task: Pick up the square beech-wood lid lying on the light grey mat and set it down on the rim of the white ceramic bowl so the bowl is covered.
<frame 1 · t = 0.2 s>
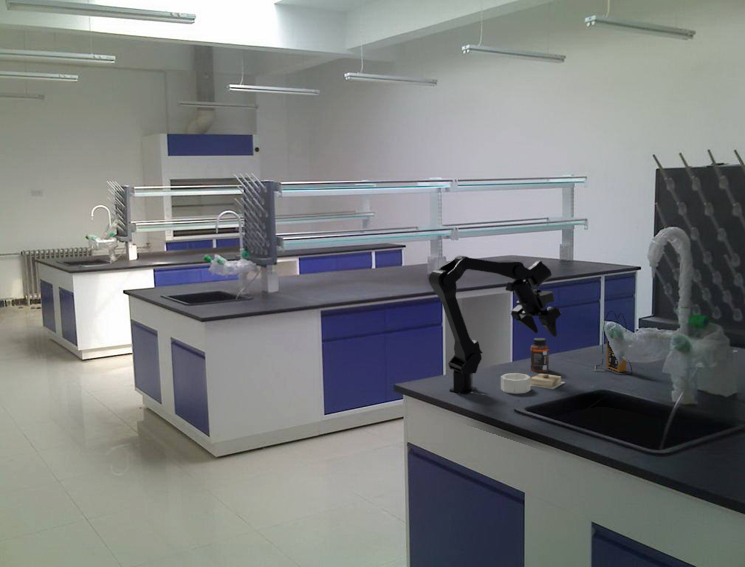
hand: (546, 334, 237), 15 cm above the worktop, tool tilted 30°, fingers open, 9 cm apart
multimeter: (607, 371, 246), on the worktop
supplement bottle: (539, 372, 248), on the worktop
lid: (545, 383, 230), resting on mat
bowl: (515, 390, 225), on the worktop
mat: (545, 385, 231), on the worktop
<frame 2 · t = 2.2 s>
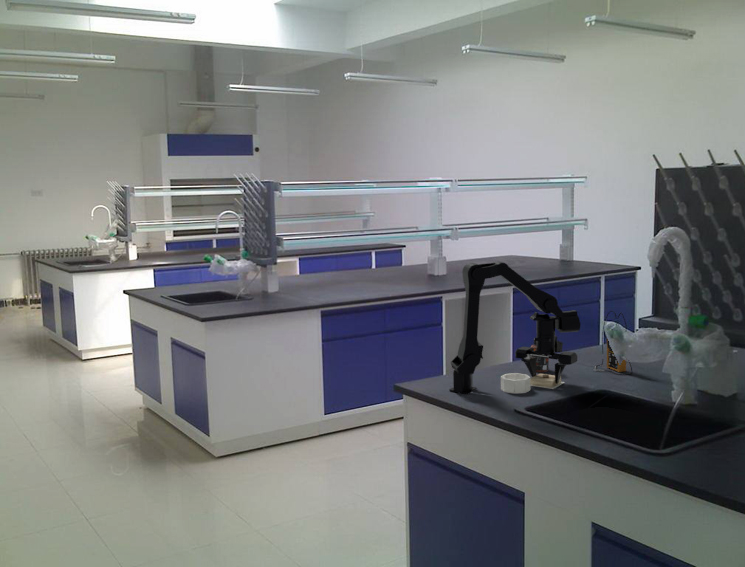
hand: (545, 381, 230), 1 cm above the worktop, tool pointing down, fingers closed on lid, 7 cm apart
lid: (545, 383, 230), resting on mat, touching gripper
everything else where it was.
when the fingers open (6 cm above the worktop, at t = 5.8 s): lid stays where it is, resting on bowl.
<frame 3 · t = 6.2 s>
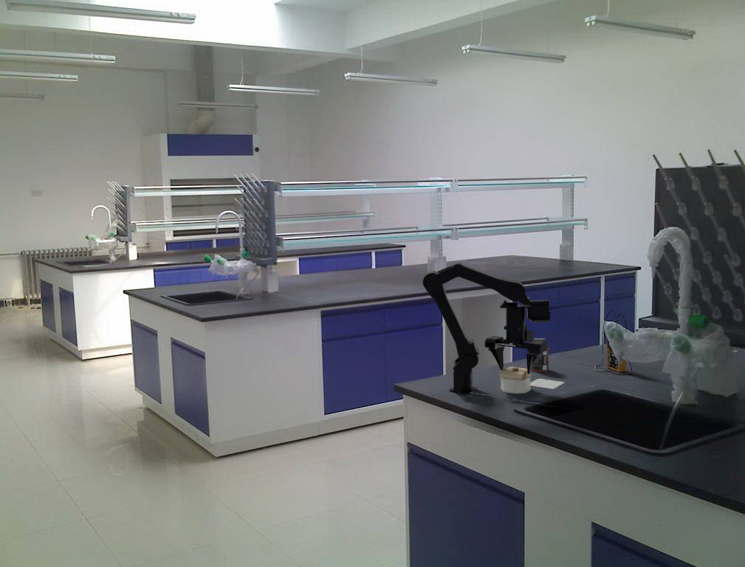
hand: (515, 372, 224), 6 cm above the worktop, tool pointing down, fingers open, 9 cm apart
lid: (515, 376, 224), point 4 cm above the worktop, touching bowl
everything else where it was.
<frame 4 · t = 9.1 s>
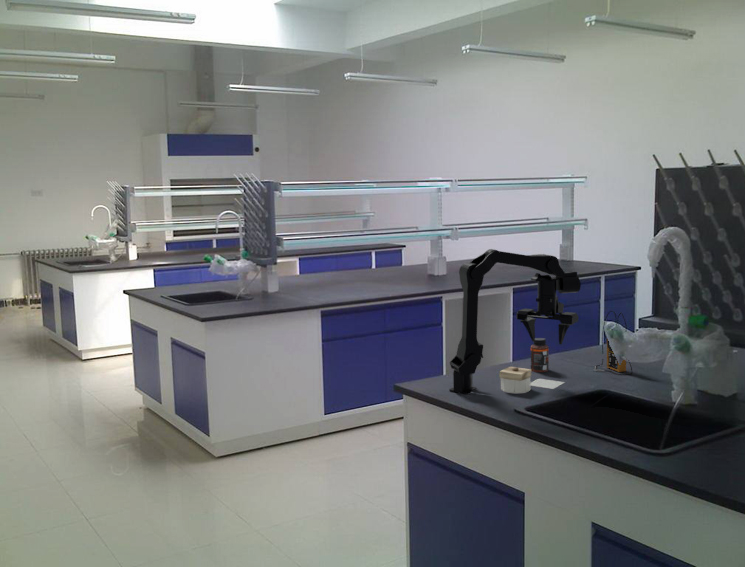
hand: (546, 342, 232), 13 cm above the worktop, tool pointing down, fingers open, 9 cm apart
nothing on the worktop moved.
at the end: lid 0.0 cm off-centre on the bowl, point 4.5 cm above the bowl's base; lid tilted 0°; the gripper is holding nothing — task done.
